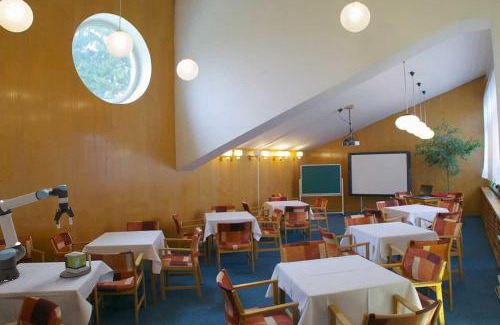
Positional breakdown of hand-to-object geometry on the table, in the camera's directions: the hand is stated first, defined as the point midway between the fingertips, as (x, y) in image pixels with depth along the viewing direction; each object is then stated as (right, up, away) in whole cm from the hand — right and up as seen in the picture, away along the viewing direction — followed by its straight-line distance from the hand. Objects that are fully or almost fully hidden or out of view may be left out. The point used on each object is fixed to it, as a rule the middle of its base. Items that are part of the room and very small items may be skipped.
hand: (64, 226), depth 288 cm
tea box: (+17, -35, -14) cm, 42 cm away
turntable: (+17, -36, -14) cm, 43 cm away
